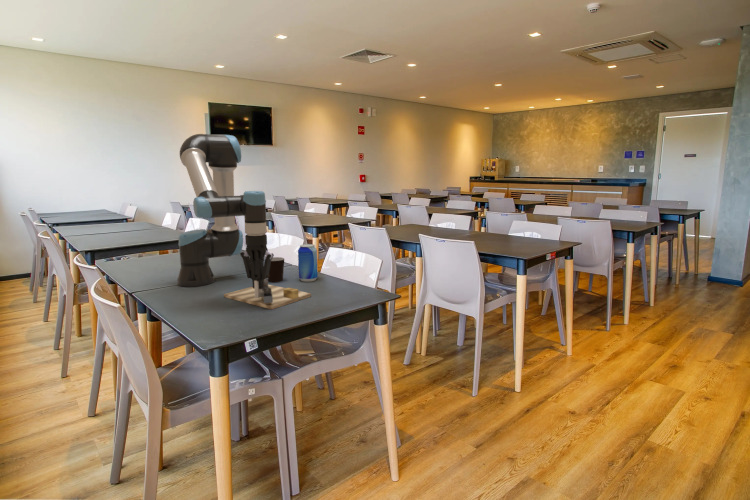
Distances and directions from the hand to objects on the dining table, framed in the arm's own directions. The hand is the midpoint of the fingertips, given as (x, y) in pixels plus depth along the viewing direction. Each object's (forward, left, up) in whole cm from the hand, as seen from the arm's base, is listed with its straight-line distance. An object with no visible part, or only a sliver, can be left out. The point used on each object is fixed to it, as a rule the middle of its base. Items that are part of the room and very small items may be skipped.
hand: (258, 297), depth 161 cm
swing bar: (+2, +3, -1) cm, 3 cm away
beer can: (-11, +38, -3) cm, 39 cm away
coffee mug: (-23, +30, -3) cm, 38 cm away
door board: (-5, +8, -3) cm, 10 cm away
